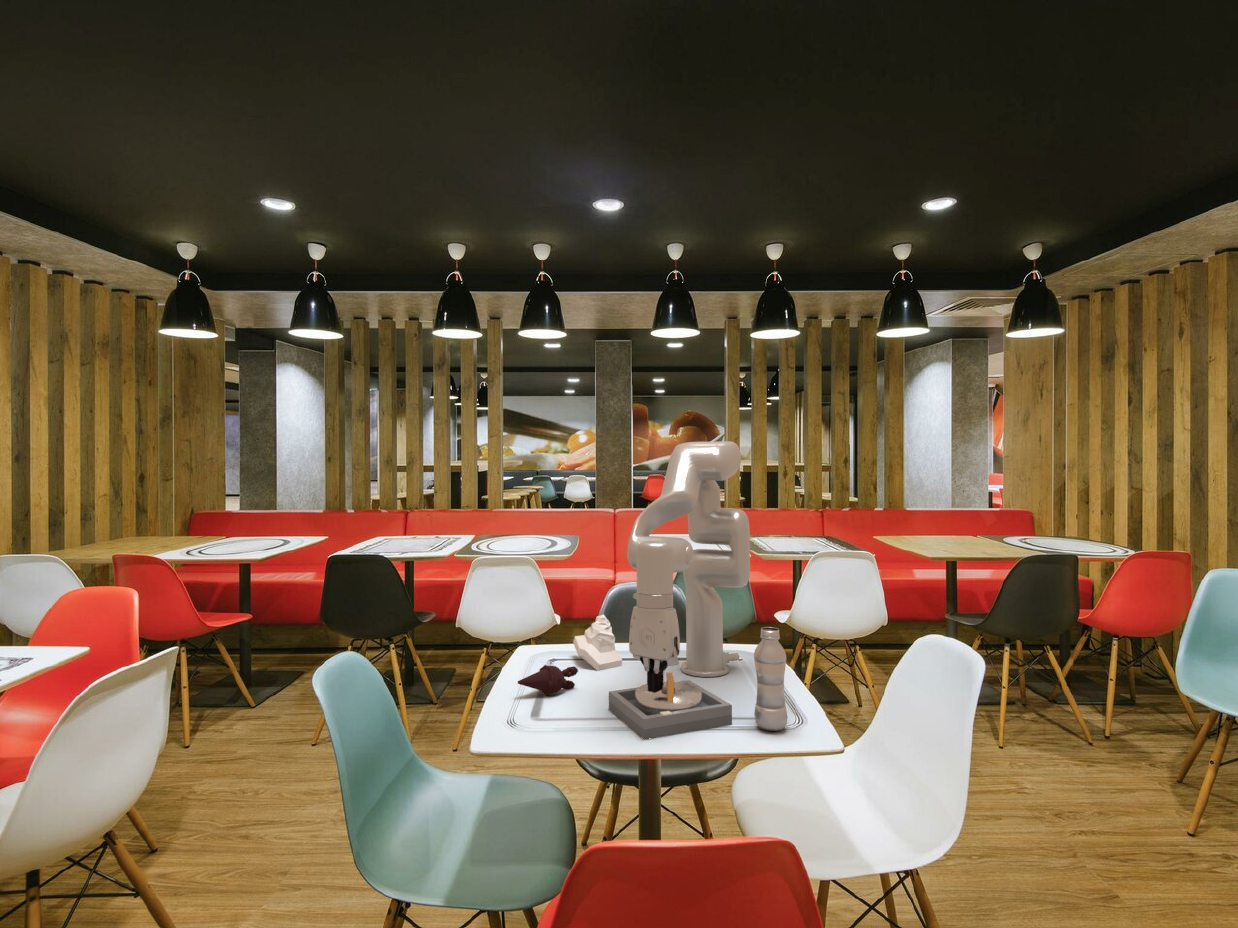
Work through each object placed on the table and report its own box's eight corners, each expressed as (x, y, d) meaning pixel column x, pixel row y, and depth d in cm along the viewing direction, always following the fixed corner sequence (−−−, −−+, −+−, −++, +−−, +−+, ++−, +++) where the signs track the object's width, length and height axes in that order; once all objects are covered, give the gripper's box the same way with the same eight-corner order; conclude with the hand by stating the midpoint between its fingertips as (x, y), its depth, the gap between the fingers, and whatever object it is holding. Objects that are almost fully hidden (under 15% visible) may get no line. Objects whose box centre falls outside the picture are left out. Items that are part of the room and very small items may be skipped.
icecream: (525, 676, 149) (585, 672, 156) (514, 660, 155) (572, 657, 163) (520, 704, 150) (579, 699, 158) (509, 687, 156) (567, 683, 164)
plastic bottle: (769, 737, 130) (768, 634, 130) (747, 725, 136) (746, 627, 136) (794, 731, 133) (793, 630, 133) (772, 720, 139) (771, 624, 139)
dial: (634, 695, 148) (634, 658, 148) (697, 694, 148) (697, 658, 148) (636, 718, 134) (635, 678, 134) (705, 717, 134) (705, 677, 134)
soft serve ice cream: (613, 659, 191) (626, 612, 190) (620, 680, 176) (634, 628, 175) (570, 650, 189) (583, 602, 188) (574, 670, 174) (588, 618, 173)
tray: (689, 697, 153) (689, 678, 153) (732, 724, 137) (731, 703, 137) (608, 709, 146) (608, 689, 146) (643, 739, 129) (643, 717, 129)
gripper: (615, 599, 139) (615, 688, 139) (675, 608, 130) (675, 702, 130) (636, 594, 145) (636, 679, 145) (695, 602, 136) (696, 692, 136)
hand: (655, 690), depth 137 cm, fingers closed
